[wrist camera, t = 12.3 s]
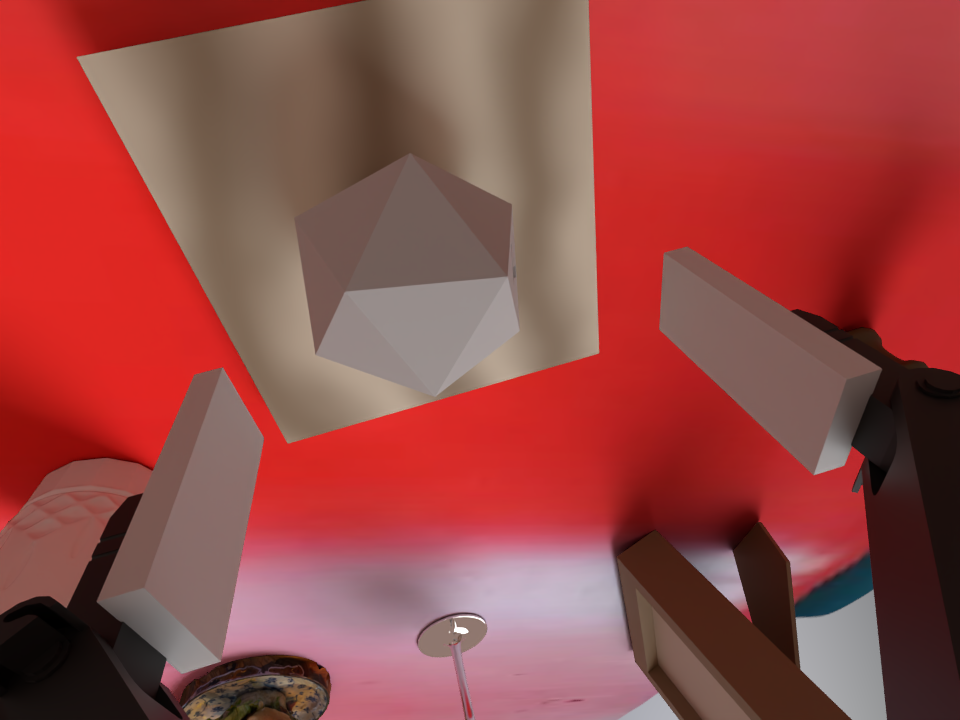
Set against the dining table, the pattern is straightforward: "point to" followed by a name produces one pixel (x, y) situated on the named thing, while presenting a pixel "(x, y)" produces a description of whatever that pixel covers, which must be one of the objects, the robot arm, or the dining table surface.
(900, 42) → the dining table surface
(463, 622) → the wineglass
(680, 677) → the photo frame
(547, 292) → the birch board
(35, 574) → the white cup
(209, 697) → the burger
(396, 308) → the die
